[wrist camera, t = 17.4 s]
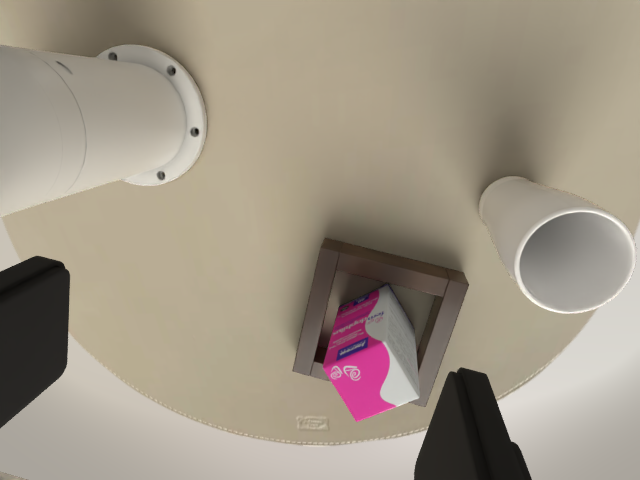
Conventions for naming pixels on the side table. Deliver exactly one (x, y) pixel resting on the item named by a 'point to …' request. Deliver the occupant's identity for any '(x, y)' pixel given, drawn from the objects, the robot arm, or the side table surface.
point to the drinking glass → (557, 244)
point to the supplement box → (373, 354)
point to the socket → (394, 271)
